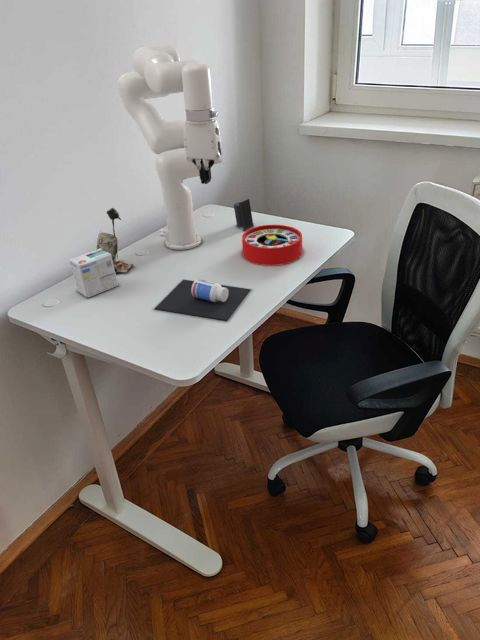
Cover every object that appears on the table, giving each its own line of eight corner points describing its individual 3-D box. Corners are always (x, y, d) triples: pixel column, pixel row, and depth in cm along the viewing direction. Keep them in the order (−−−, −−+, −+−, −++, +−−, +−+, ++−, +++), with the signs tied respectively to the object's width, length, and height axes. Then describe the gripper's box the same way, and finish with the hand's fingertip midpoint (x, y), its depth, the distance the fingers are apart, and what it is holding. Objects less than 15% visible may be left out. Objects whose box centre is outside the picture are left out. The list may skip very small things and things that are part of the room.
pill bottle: (193, 300, 151) (221, 308, 147) (188, 286, 147) (217, 294, 143) (203, 289, 154) (231, 296, 150) (199, 274, 150) (227, 281, 146)
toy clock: (256, 221, 183) (310, 228, 176) (257, 237, 187) (310, 244, 180) (231, 243, 168) (289, 252, 162) (232, 260, 172) (289, 269, 165)
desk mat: (154, 309, 147) (154, 308, 147) (183, 280, 161) (183, 279, 161) (226, 321, 141) (226, 319, 141) (249, 290, 154) (249, 289, 154)
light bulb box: (107, 279, 163) (100, 247, 157) (119, 286, 159) (112, 253, 153) (76, 291, 157) (67, 258, 151) (87, 298, 153) (79, 265, 147)
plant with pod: (108, 262, 174) (94, 203, 162) (137, 266, 170) (126, 206, 159) (93, 272, 167) (79, 212, 156) (123, 277, 164) (111, 216, 153)
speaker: (257, 227, 194) (253, 199, 188) (243, 231, 191) (239, 203, 186) (247, 222, 199) (243, 195, 194) (234, 226, 197) (230, 199, 192)
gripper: (230, 113, 143) (234, 180, 154) (181, 111, 147) (188, 176, 158) (219, 119, 137) (224, 188, 148) (169, 117, 142) (177, 184, 152)
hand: (206, 182), depth 153 cm, fingers closed
